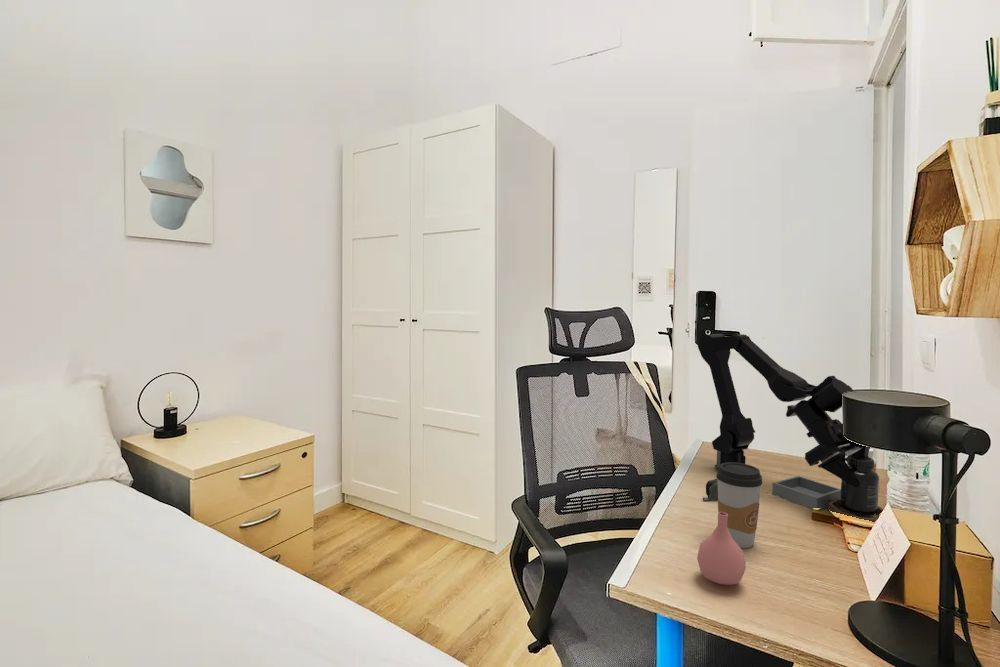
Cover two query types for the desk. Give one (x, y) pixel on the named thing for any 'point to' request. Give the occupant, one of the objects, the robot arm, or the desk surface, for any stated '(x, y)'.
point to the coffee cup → (739, 500)
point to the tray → (806, 492)
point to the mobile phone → (711, 490)
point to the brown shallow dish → (836, 503)
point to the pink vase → (721, 555)
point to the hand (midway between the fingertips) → (866, 483)
